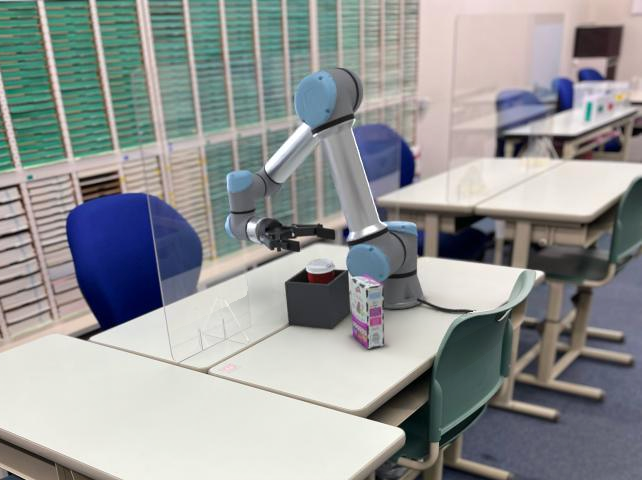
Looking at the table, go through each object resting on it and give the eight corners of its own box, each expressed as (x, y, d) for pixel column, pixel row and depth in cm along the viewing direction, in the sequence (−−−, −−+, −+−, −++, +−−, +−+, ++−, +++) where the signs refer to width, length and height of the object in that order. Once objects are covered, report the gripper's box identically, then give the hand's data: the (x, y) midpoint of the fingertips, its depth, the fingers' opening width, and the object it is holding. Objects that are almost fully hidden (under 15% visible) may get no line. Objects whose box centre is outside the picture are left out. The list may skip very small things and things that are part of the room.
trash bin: (350, 312, 205) (348, 270, 198) (331, 329, 195) (328, 285, 188) (309, 308, 211) (305, 267, 204) (288, 324, 201) (284, 282, 194)
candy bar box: (385, 346, 182) (384, 284, 173) (368, 350, 181) (365, 288, 172) (368, 332, 191) (366, 273, 182) (351, 335, 190) (349, 276, 181)
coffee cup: (343, 309, 205) (340, 260, 196) (326, 320, 200) (322, 270, 191) (321, 304, 209) (317, 255, 200) (304, 314, 204) (299, 265, 196)
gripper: (297, 234, 213) (348, 243, 199) (234, 254, 199) (284, 266, 186) (295, 208, 209) (347, 216, 195) (231, 228, 195) (281, 237, 182)
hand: (316, 240), depth 190 cm, fingers open, 13 cm apart
